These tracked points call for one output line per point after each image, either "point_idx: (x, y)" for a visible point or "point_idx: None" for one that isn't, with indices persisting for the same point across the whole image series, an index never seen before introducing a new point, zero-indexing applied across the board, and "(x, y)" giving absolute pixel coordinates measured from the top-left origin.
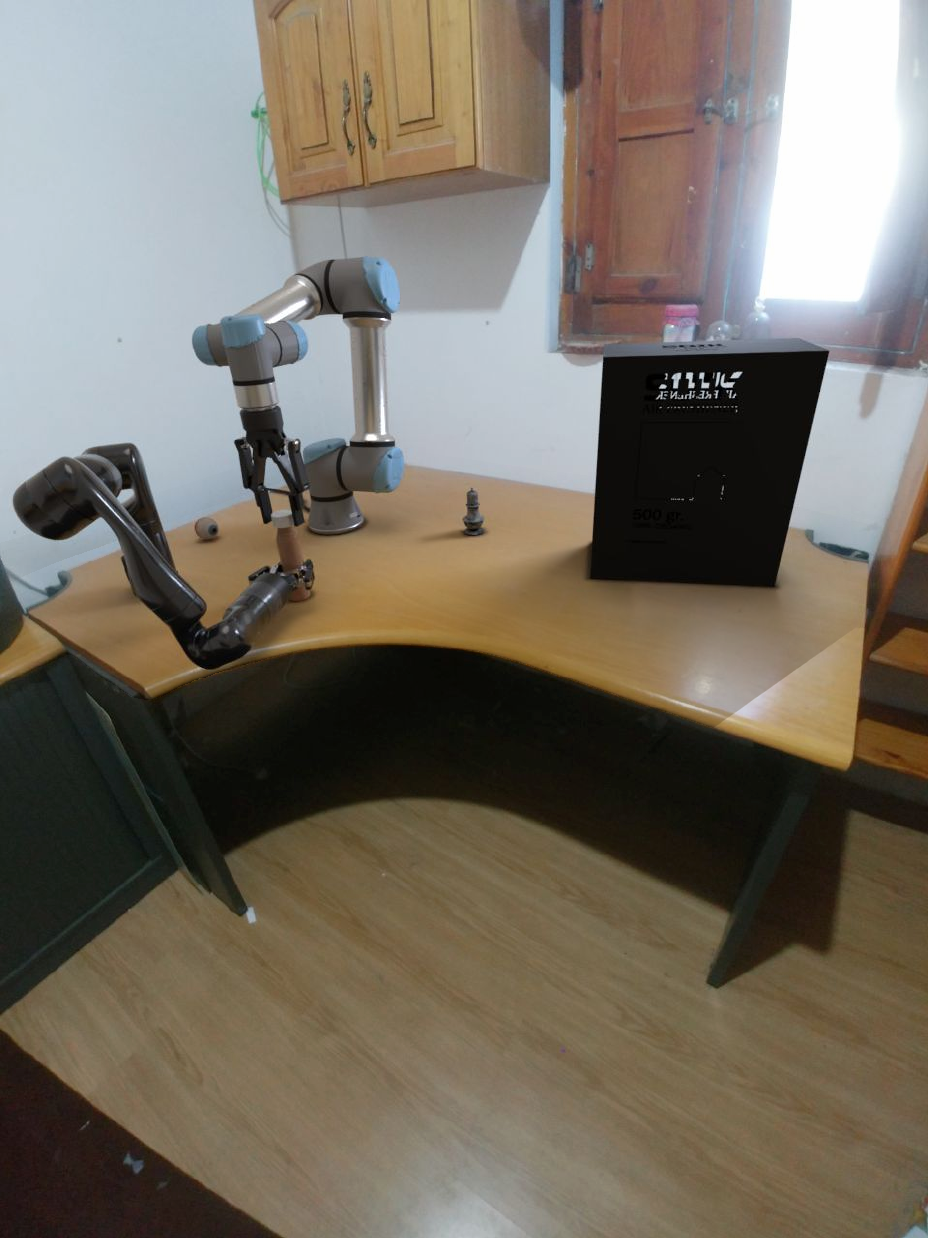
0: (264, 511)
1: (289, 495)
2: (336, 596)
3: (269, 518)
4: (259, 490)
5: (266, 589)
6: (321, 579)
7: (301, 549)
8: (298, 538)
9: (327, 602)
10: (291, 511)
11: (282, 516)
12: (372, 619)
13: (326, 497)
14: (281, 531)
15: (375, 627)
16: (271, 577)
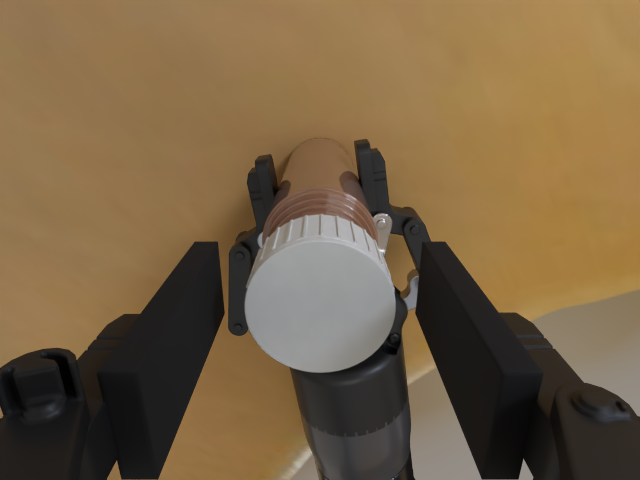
0: (204, 355)
1: (493, 473)
2: (436, 145)
3: (216, 291)
4: (108, 453)
5: (392, 445)
6: (326, 39)
7: (364, 196)
8: (376, 228)
9: (425, 186)
10: (440, 373)
11: (358, 356)
12: (589, 241)
13: None
14: None
15: (607, 273)
16: (373, 401)
